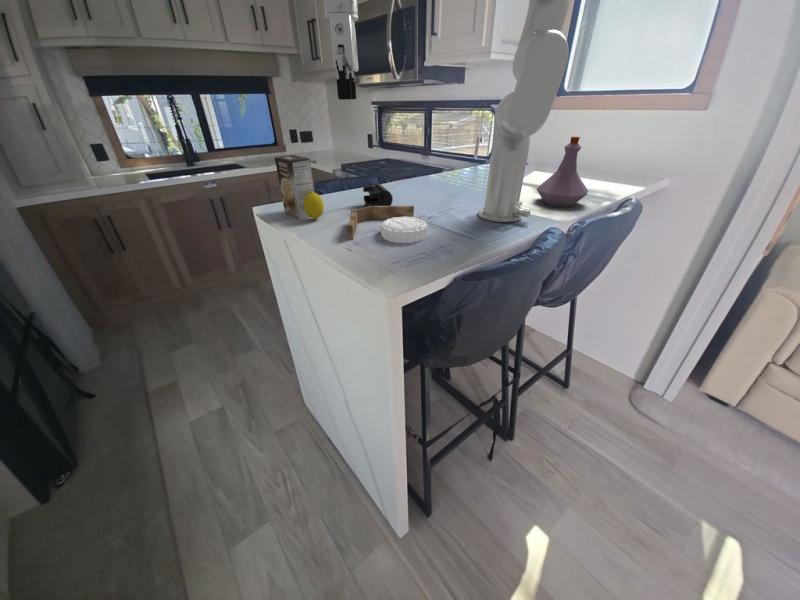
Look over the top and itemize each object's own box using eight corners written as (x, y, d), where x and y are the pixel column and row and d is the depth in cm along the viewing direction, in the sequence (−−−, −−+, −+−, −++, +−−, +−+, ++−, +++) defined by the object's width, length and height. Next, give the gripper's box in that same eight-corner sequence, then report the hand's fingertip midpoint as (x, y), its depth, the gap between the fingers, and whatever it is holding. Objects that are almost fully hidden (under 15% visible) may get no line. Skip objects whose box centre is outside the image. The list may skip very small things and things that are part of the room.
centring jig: (415, 218, 96) (415, 206, 95) (350, 240, 82) (349, 226, 80) (392, 211, 102) (391, 199, 100) (327, 230, 87) (325, 217, 86)
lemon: (308, 223, 92) (304, 194, 88) (304, 218, 96) (299, 190, 92) (327, 220, 94) (324, 192, 90) (322, 215, 99) (318, 188, 94)
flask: (549, 194, 120) (564, 133, 110) (595, 204, 109) (616, 137, 98) (523, 201, 112) (536, 136, 101) (569, 213, 101) (589, 141, 90)
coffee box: (283, 213, 101) (273, 156, 92) (301, 208, 105) (293, 154, 96) (300, 219, 95) (290, 160, 87) (318, 214, 99) (310, 157, 91)
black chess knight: (393, 211, 103) (392, 189, 99) (371, 213, 101) (370, 190, 97) (384, 202, 111) (383, 182, 107) (363, 204, 109) (362, 183, 105)
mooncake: (436, 238, 84) (437, 224, 82) (397, 248, 78) (396, 233, 76) (410, 225, 92) (410, 212, 90) (372, 233, 87) (372, 219, 85)
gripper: (353, 1, 67) (358, 99, 76) (361, 18, 81) (365, 99, 90) (316, 1, 67) (326, 99, 76) (331, 18, 81) (338, 99, 90)
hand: (347, 99), depth 83 cm, fingers open, 9 cm apart
